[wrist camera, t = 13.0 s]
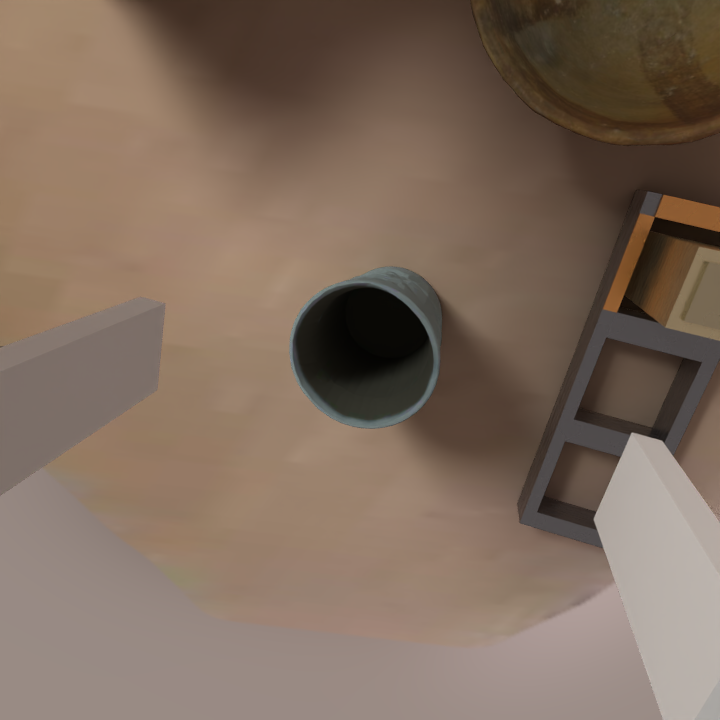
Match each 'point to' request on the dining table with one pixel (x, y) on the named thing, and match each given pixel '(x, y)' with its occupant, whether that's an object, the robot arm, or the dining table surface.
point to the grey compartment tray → (599, 326)
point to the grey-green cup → (369, 347)
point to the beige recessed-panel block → (678, 284)
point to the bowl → (611, 64)
